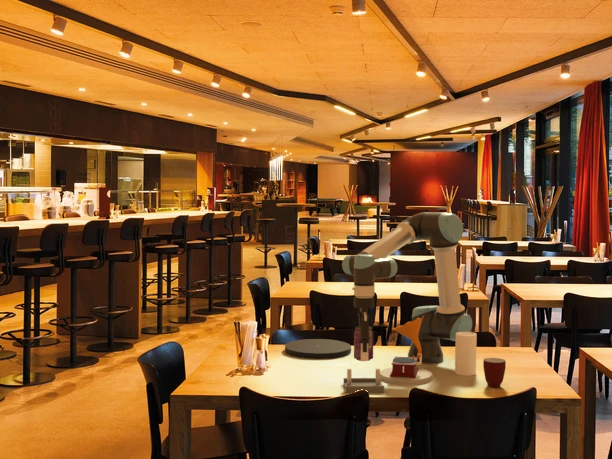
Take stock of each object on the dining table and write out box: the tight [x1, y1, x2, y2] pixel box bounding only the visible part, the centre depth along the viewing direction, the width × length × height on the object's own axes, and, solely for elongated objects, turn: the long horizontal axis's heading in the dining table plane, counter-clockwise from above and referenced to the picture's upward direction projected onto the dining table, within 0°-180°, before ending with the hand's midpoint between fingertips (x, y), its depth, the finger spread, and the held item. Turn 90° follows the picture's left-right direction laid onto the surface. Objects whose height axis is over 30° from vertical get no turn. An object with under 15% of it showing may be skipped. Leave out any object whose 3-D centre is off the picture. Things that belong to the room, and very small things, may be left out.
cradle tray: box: [343, 368, 385, 394], centre depth 283 cm, size 14×12×7 cm
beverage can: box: [353, 325, 374, 362], centre depth 282 cm, size 7×7×12 cm
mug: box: [482, 357, 507, 389], centre depth 287 cm, size 10×8×10 cm
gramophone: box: [380, 316, 433, 386], centre depth 298 cm, size 20×20×25 cm
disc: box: [284, 338, 352, 360], centre depth 346 cm, size 30×30×3 cm
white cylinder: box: [454, 331, 478, 377], centre depth 306 cm, size 8×8×16 cm
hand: (363, 358), depth 283 cm, fingers closed on beverage can, 7 cm apart
